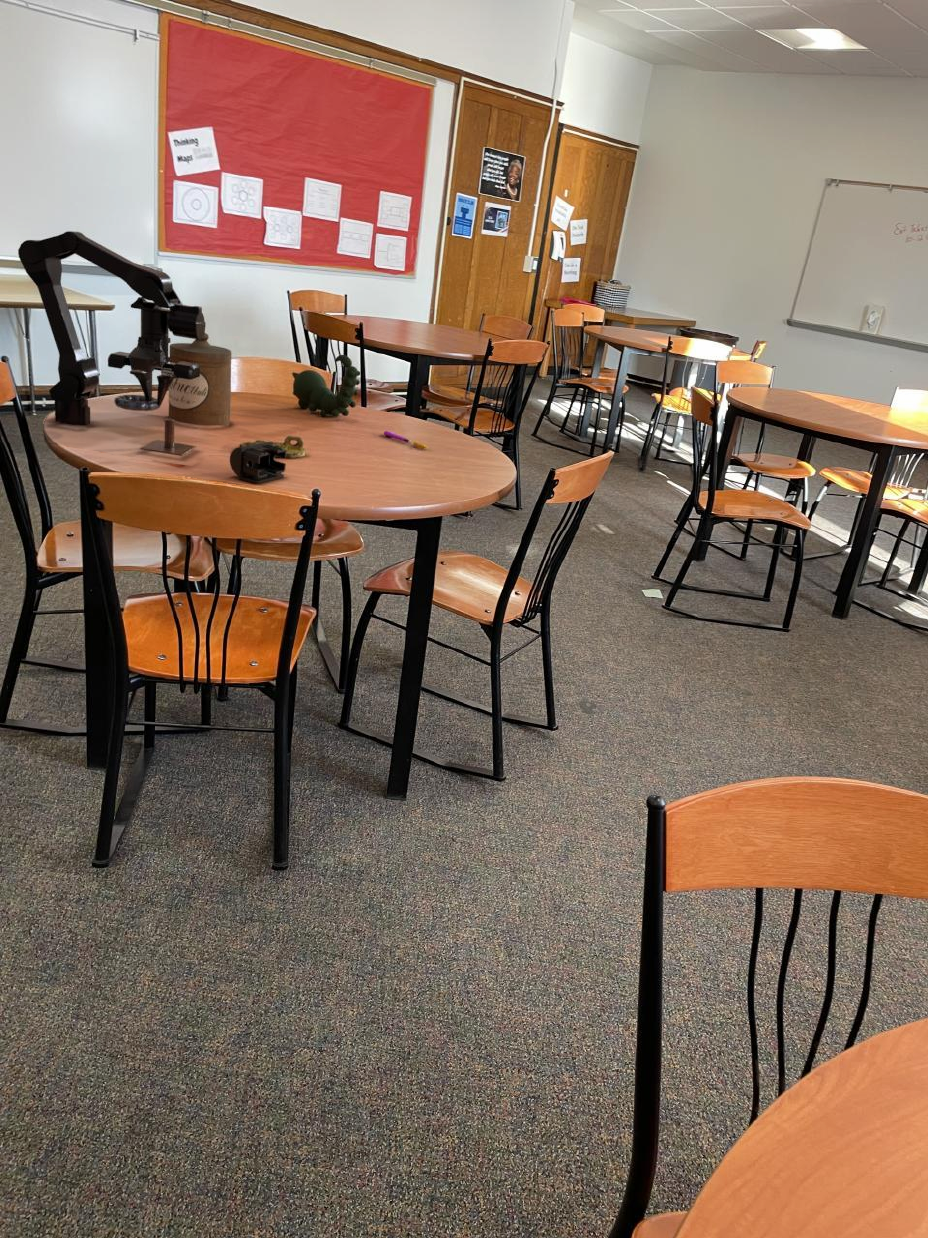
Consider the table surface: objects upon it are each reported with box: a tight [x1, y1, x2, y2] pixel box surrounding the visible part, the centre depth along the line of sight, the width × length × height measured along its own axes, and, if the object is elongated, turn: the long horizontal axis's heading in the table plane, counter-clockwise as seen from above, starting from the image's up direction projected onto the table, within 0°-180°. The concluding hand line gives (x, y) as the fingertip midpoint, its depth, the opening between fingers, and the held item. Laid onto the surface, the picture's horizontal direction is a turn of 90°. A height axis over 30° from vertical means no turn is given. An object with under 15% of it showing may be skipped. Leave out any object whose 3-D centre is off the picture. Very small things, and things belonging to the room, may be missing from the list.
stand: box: [140, 417, 197, 457], centre depth 194 cm, size 9×9×7 cm
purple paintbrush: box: [383, 430, 429, 450], centre depth 239 cm, size 3×1×16 cm
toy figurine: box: [291, 354, 361, 418], centre depth 254 cm, size 9×19×25 cm
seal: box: [238, 435, 306, 459], centre depth 207 cm, size 9×5×15 cm
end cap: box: [229, 441, 287, 485], centre depth 186 cm, size 10×7×7 cm
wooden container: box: [168, 332, 232, 427], centre depth 222 cm, size 15×15×22 cm
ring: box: [113, 394, 161, 412], centre depth 201 cm, size 10×10×2 cm
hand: (154, 404), depth 201 cm, fingers closed on ring, 2 cm apart
